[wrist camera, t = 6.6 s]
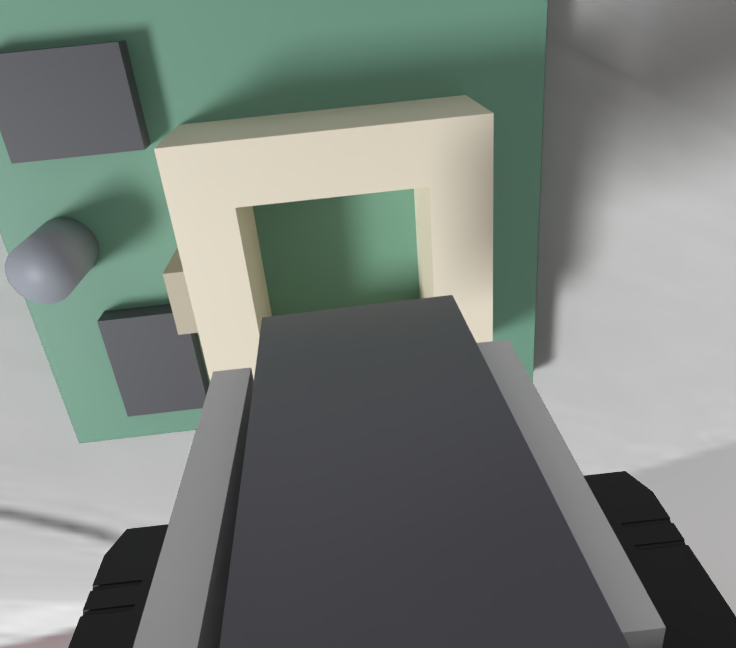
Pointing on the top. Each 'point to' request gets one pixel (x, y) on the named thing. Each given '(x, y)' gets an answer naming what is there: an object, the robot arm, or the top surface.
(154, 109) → the board
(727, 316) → the top surface
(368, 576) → the plug
